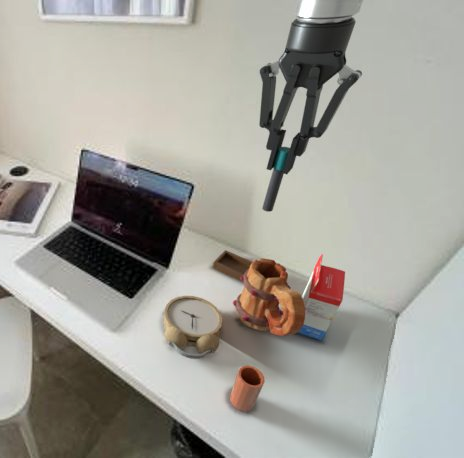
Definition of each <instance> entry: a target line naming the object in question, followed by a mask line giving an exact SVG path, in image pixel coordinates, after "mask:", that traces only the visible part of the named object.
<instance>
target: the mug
mask: <svg viewBox="0 0 464 458" xmlns="http://www.w3.org/2000/svg"><path fill="white" fill-rule="evenodd" d="M288 278H289V274H288V272H287V268H286V267H285V266H284V265H282V264H280V263H277V262H276V261H275V260H274V259H270V258H261V257H260V258H259V259H254V260H253V261H252V264H251V266H250V268H249V269H248V270H247V271H246V272H245V274H244V276H241V277H240V280H241V281H242V282H241V281H240V282H241V283H243V288H242V291H241V293H240V294H239V295H238V296H237V297H236V299H235V300H233V301H232V304H233V306H234V307H235V311H236V312H237V314H238V318H239V320H240V321H241V323H243V324H244V325H245V326H247V327H248V328H250V329H253V330H255V331H259V332H264V331H268V330H269V331H270V333H271V334H273V335H274V336H279V337H283V336H290V335H296V334H297V333H298V331H299V330H300V329H301V328H302V326H303V325H304V320H305V306H304V300H303V298H302V294H301V293H300V292H299V291H298V290H295V289H292V287H291V286H290V284H289V283H288Z"/></svg>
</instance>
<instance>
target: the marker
mask: <svg viewBox="0 0 464 458" xmlns="http://www.w3.org/2000/svg"><path fill="white" fill-rule="evenodd" d="M289 150H290V147H288V146H282V147H280V148H279V149H278V152H277V156H276V159H275V163H274V166H273V169H272V172H271V176H270V179H269V183H268V185H267V186H268V187H267V190H266V194H265V198H264V201H263V205H262V208H261V209H262V210H263V211H264V212H268V213H269V212H272V211H273V210H274V207H275V204H276V202H277V201H276V200H277V198H278V194H279V192H280V191H279V190H280V189H281V184H282V181H283V178H284V175H285V174H283V170H284V166H285V163H286V160H287V157H288V153H289Z"/></svg>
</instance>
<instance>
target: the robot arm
mask: <svg viewBox="0 0 464 458" xmlns="http://www.w3.org/2000/svg"><path fill="white" fill-rule="evenodd" d="M363 3H364V0H296V2H295V7H294V11H293V15H294V16H295V17H296V18H295V19H294V20H293V21H292V22H291V24H290V28H289V32H288V36H287V40H286V44H285V48H284V51H283V53H282V55H281V56H280V57H279V58H278V60H277V61H274V62H268V63H266V64H265V65H264V66H262V67H261V68H260V69H259V75H260V78H261V82H262V84H261V85H262V88H261V99H260V112H259V122H258V123H259V127H260V128H261V129H266V130H267V131H268V132H269V133H268V137H267V141H266V145H265V149H266V150H267V151H270V154H269V158H268V161H267V165H266V170H268V171H273V169H274V168H273V166H274V163H275V159H276V156H277V152H278V149H279V148H280V147H283V144H284V140H285V137H286V132H287V130H286V129H283V127H284V126H285V121H286V118H287V116H288V113H289V112H290V109H291V107H292V106H291V105H292V104H293V101H294V98H295V96H296V93H297V92H298V89H299V88H303V89H306V94H305V96H306V98H305V103H304V104H305V105H304V108H303V114H302V119H301V124H300V129H299V132H297V134H295V135H294V137H292V140H291V144H290V147H289V148H290V150H289V153H288V157H287V160H286V163H285V166H284V170H283V174H284V175H288V174H289V173H290V172H291V171H292V169H293V168H294V166H295V162H296V159H297V157H301V156H302V155H303V154H304V153H305V152H306V151H307V147H308V145H309V141H310V139H311V138H315V139H319V138H321V137H322V136H323V135H324V134H325V132H326V131H327V130H328V128H329V126H330V124H331V123H332V121H333V119H334V117H335V116H336V114H337V112H338V110H339V108H340V106H341V104H342V102H343V101H344V99H345V97H346V95H347V93H348V91H349V90H350V88H351V87H352V86H354V85H355V84H356V83H357V81H359V80H360V78H361V77H362V76H363V72H362V71H361V70H359V69H357V70H354V69H352V68H351V66H348V65H346V64H347V57H346V51H347V49H348V46H349V43H350V40H351V38H352V37H351V36H352V34H353V31H354V28H355V25H356V22H357V21H356V19H355V17H354V16H355V15H357V14H358V13H359V12H360V11H361V9H362V6H363ZM280 72H281V74H282V76H283V78H284V80H285V86H284V88H283V90H282V96H281V98H280V101H279V103H278V105H277V109H276V111H275V114H274V107H275V97H276V88H277V76H278V75H279V73H280ZM337 74H338V75H339V76H338V79H337V80H336V82H337V85H338V87H337V88H336V90H335V91H334V93H333V95H332V97H331V98H330V100H329V102H328V104H327V106H326V108H325V110H324V111H323V114H322V116H321V118H320V119H319V121H318V123H317V124H316V126H315V122H316V116H317V112H318V108H319V103H320V98H321V93H322V90H323V87H324V85H325V84H326V83H327V82H329V81H330V80H331V79H332V78H333V77H334V76H336V75H337Z"/></svg>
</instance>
